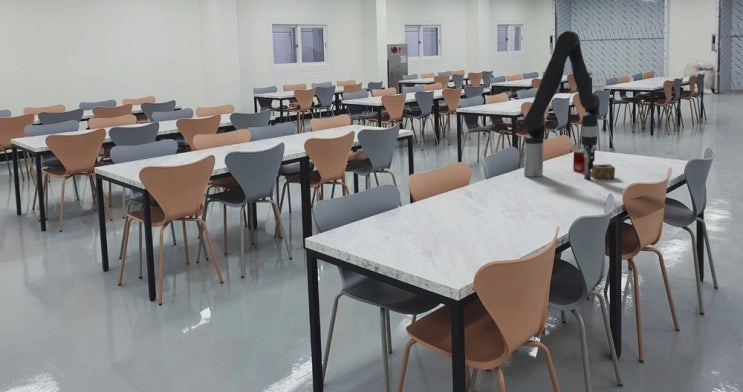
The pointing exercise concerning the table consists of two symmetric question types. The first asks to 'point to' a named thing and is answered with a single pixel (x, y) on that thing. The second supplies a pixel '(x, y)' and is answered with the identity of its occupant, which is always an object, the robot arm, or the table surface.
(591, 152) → the robot arm
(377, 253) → the table surface
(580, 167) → the canned food
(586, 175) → the pin
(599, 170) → the socket block
